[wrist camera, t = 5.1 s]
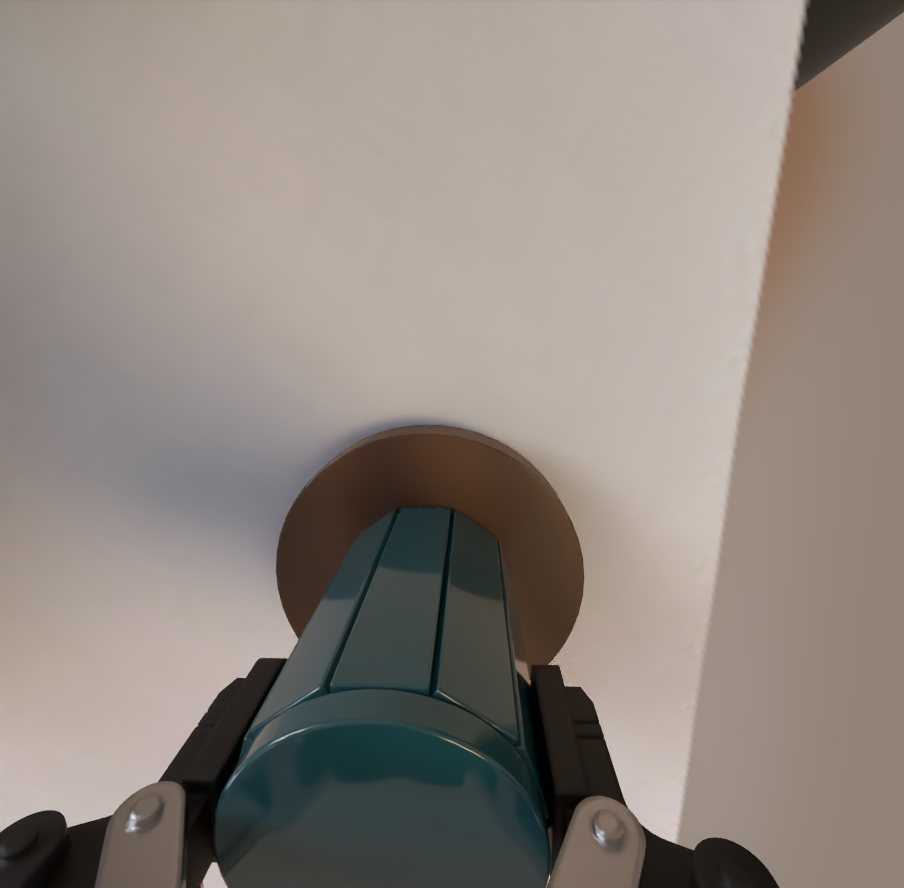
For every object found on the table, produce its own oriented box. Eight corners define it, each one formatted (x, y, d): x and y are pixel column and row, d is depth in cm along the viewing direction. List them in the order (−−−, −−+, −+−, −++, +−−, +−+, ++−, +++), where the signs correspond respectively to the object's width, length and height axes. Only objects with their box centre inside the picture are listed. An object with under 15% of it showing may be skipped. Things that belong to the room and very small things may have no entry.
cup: (480, 483, 17) (488, 677, 7) (531, 634, 18) (592, 953, 9) (320, 531, 17) (148, 762, 8) (381, 672, 19) (294, 1002, 10)
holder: (529, 383, 17) (593, 450, 8) (607, 646, 20) (723, 924, 11) (243, 476, 19) (18, 624, 9) (352, 710, 21) (260, 1002, 12)
